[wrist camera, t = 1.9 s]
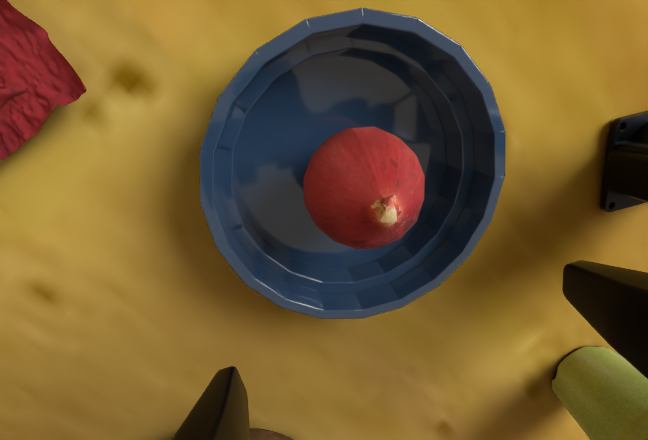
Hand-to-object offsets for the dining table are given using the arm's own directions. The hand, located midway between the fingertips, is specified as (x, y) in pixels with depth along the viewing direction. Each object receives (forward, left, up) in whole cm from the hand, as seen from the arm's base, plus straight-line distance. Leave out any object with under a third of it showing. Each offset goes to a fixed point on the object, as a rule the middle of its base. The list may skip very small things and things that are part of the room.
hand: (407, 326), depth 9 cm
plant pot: (-19, +22, -13) cm, 32 cm away
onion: (-1, -1, -13) cm, 13 cm away
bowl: (-1, -1, -13) cm, 13 cm away
